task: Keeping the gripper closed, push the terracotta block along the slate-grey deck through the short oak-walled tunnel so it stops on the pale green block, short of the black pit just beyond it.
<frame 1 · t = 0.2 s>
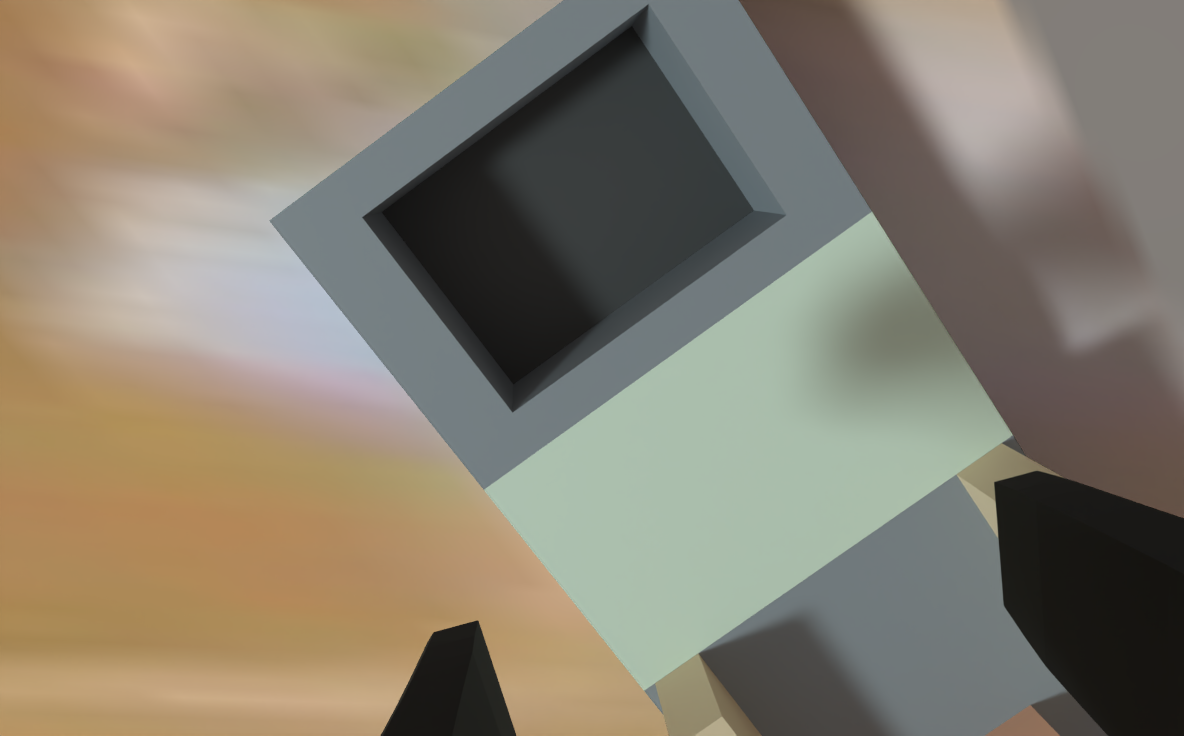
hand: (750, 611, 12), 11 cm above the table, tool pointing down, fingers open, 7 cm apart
pale green block: (723, 425, 23), on the table
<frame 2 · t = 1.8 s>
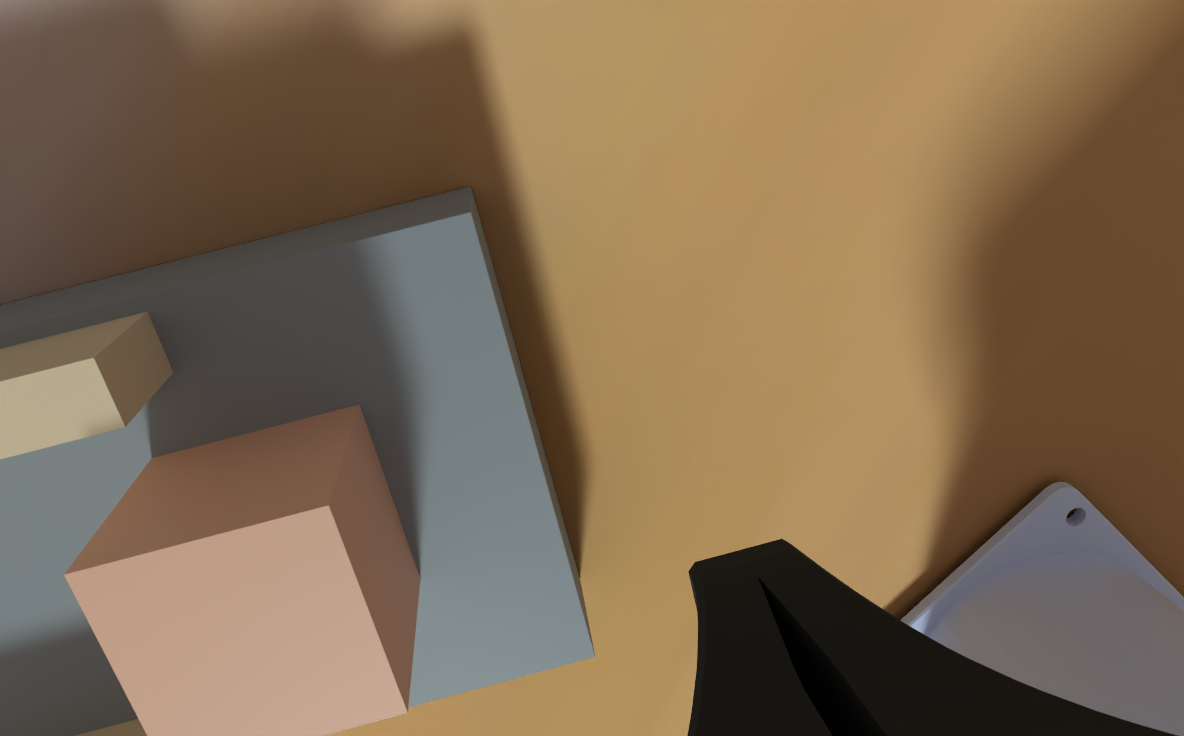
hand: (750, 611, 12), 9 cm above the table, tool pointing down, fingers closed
terracotta block: (291, 521, 18), point 3 cm above the table, touching deck
deck: (487, 410, 21), on the table
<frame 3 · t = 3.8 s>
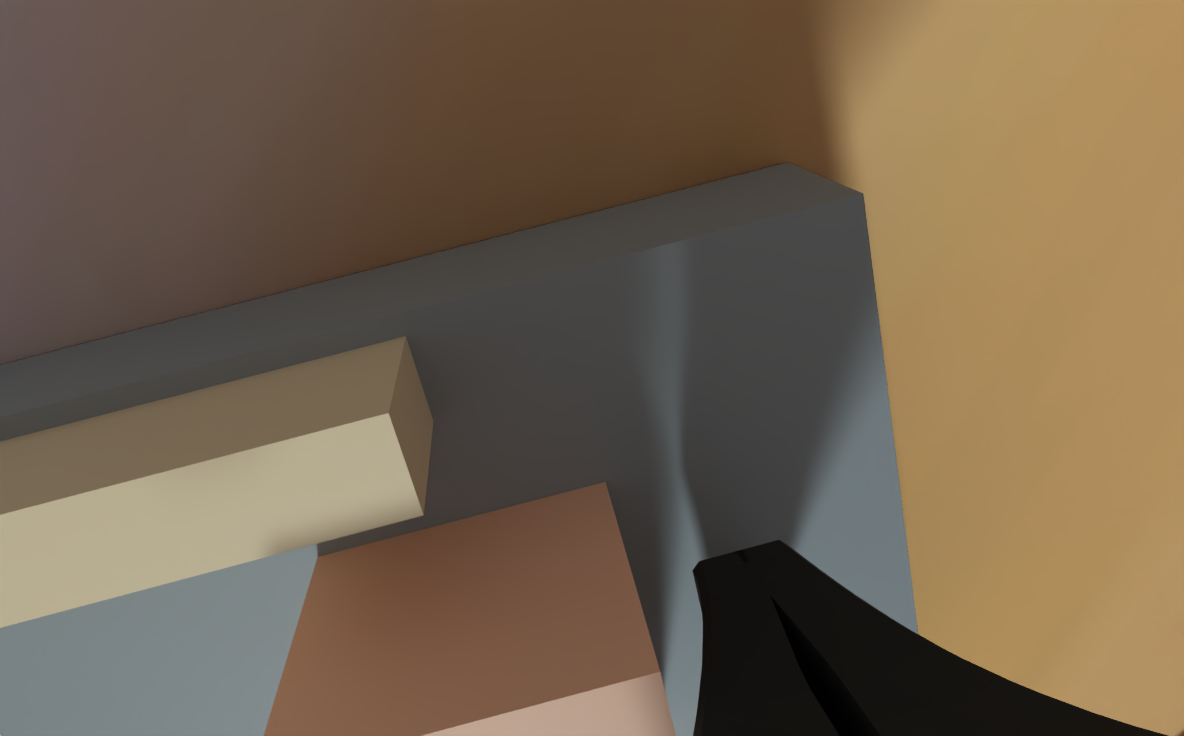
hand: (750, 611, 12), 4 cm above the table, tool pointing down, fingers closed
terracotta block: (500, 638, 13), point 3 cm above the table, touching gripper
deck: (775, 458, 16), on the table
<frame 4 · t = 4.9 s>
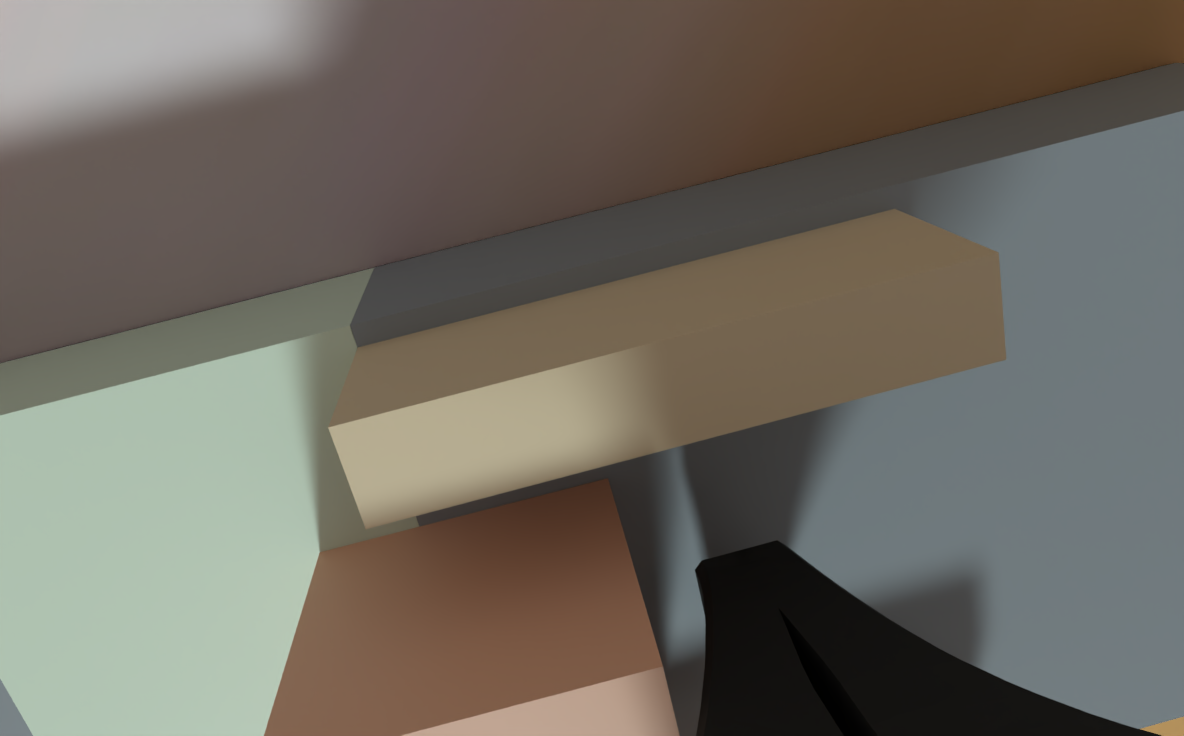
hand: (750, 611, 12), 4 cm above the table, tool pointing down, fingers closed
terracotta block: (502, 634, 13), point 3 cm above the table, touching gripper
pale green block: (294, 585, 16), on the table
deck: (1121, 365, 16), on the table
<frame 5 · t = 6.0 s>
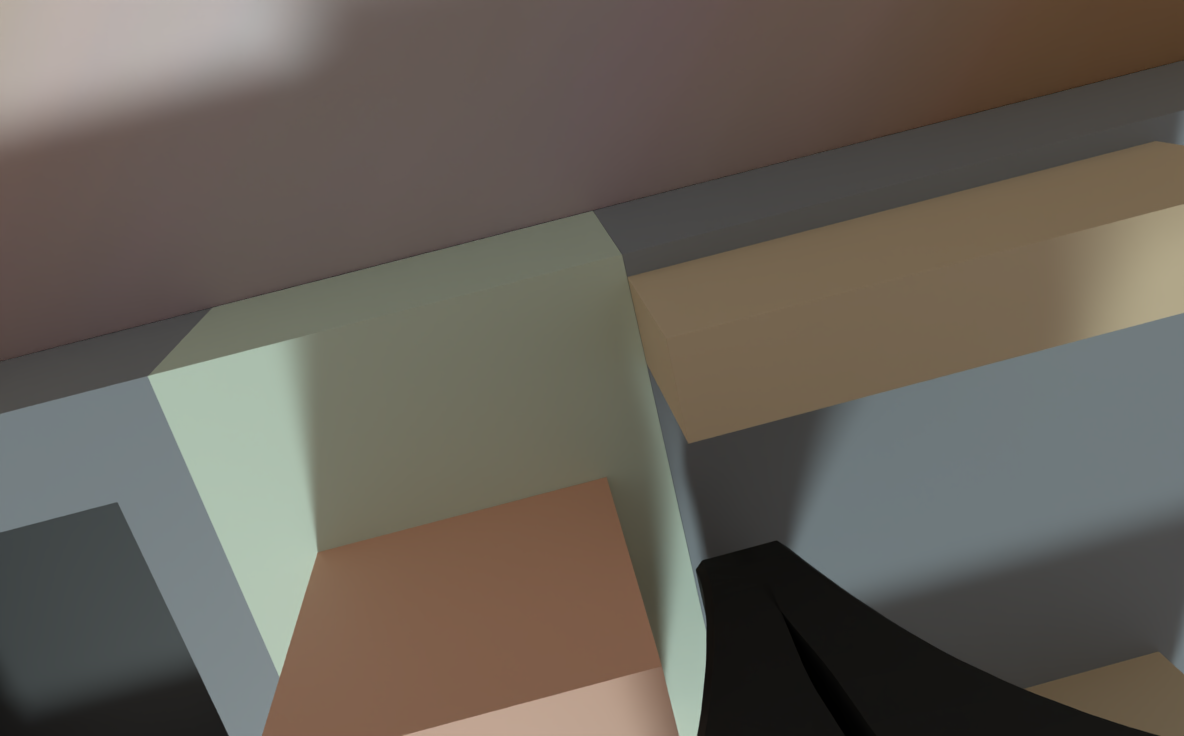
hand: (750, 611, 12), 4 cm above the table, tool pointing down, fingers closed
terracotta block: (500, 633, 13), point 3 cm above the table, touching gripper, pale green block
pale green block: (489, 533, 16), on the table
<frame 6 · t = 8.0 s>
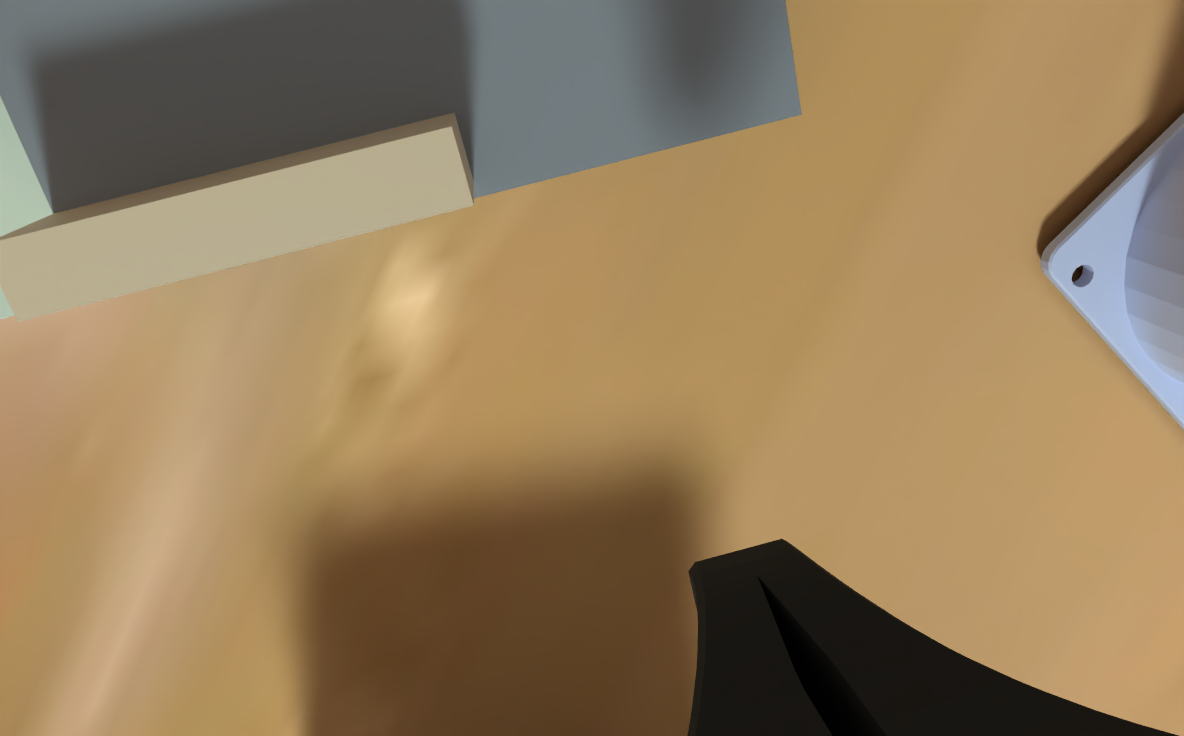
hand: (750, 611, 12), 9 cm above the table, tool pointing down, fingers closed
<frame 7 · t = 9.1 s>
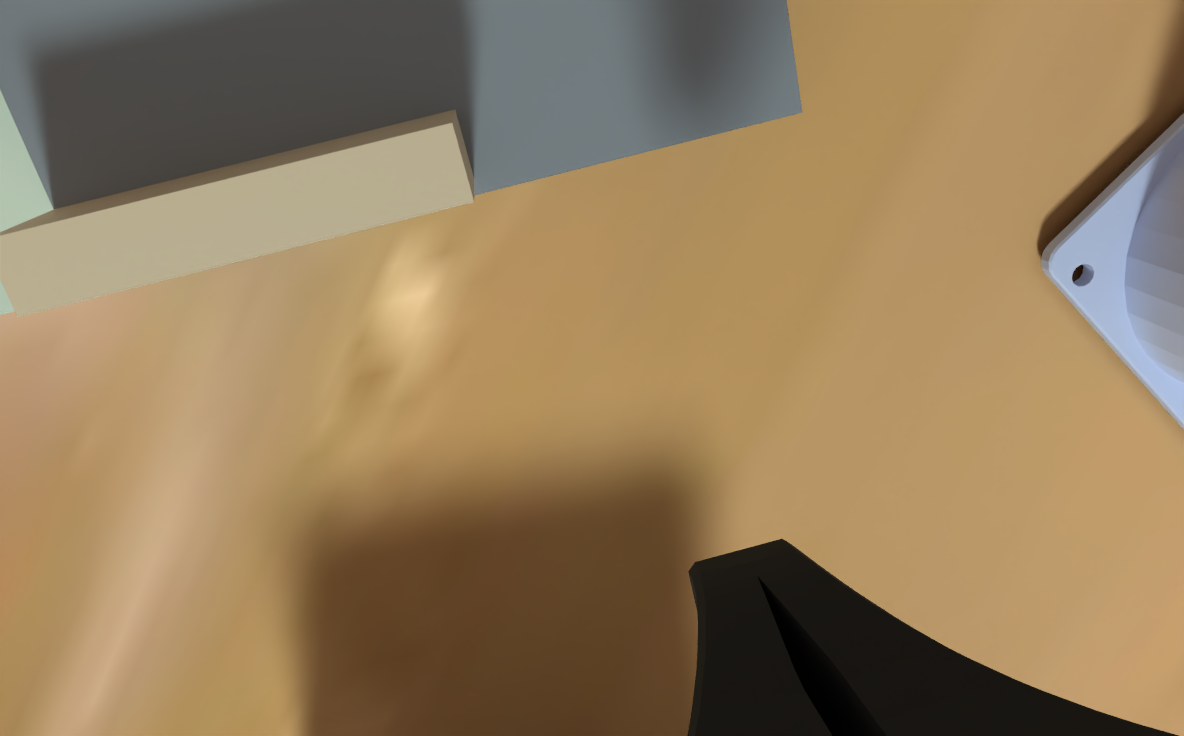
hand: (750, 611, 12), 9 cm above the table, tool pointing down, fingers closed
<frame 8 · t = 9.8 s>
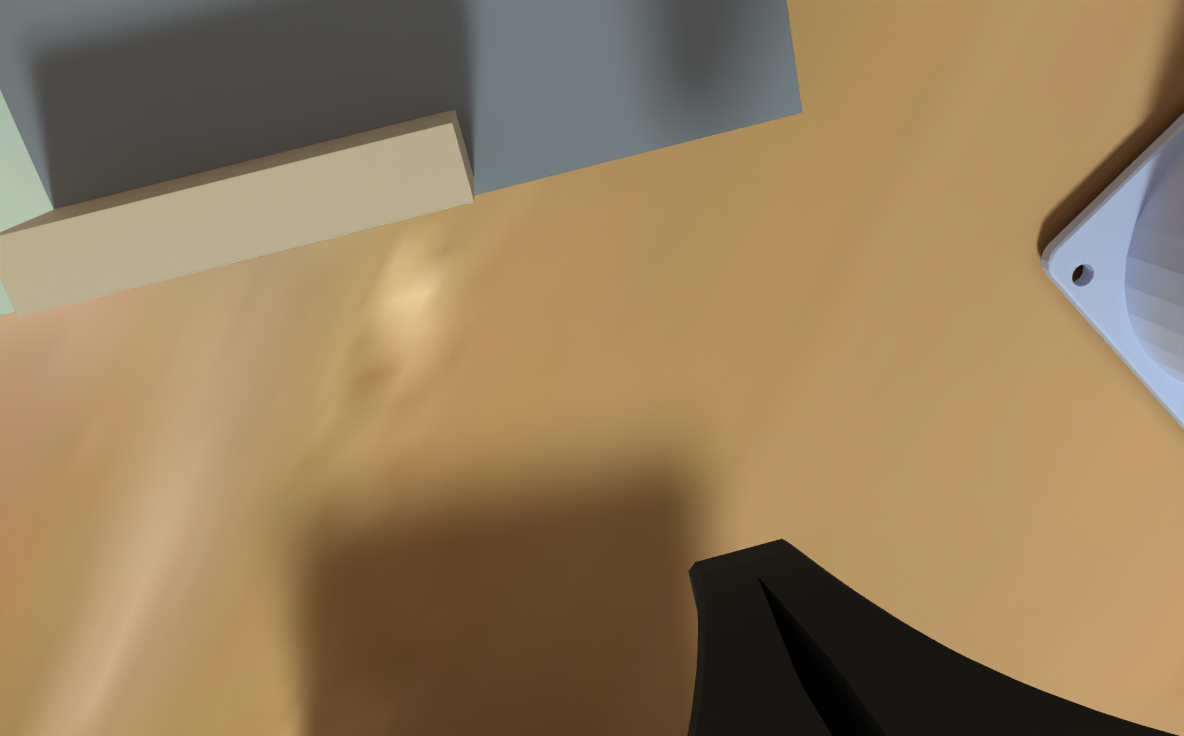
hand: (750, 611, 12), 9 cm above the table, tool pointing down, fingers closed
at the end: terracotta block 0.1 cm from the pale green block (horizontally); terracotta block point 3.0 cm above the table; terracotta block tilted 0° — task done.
